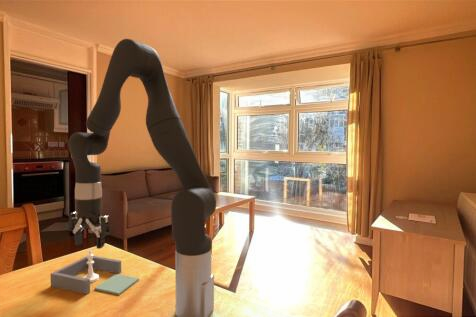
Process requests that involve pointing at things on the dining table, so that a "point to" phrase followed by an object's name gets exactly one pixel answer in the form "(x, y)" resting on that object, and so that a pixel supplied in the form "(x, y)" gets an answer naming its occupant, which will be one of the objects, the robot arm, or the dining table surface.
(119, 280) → the mat
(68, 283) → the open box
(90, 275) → the chess piece
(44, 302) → the dining table surface
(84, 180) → the robot arm
